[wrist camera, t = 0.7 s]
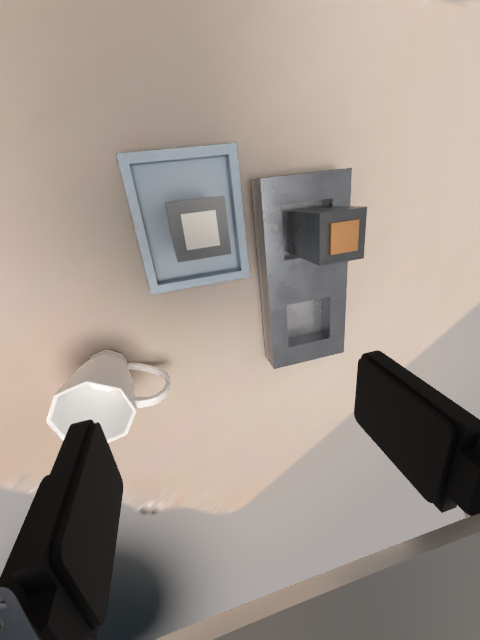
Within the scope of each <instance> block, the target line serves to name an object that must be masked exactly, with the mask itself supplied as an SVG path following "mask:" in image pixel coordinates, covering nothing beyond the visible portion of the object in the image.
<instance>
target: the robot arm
mask: <svg viewBox="0 0 480 640" xmlns="http://www.w3.org/2000/svg"><path fill="white" fill-rule="evenodd" d="M354 415H355V419H356V421H357V422H358V423H359V425H360V426H361V427H362V428H363V429H364V430H365V432H366V433H367V434H368V435H369V436H370V437H371V438H372V440H373V441H374V442H375V443H376V444H377V445H378V446H379V447H380V448H381V450H382V451H383V452H384V453H385V454H386V455H387V457H388V458H389V459H390V460H391V461H392V462H393V463H394V464H395V466H396V467H397V468H398V469H399V470H400V471H401V472H402V474H403V475H404V476H405V477H406V478H407V479H408V480H409V481H410V483H411V484H412V485H413V486H414V487H415V488H416V489H417V490H418V492H419V493H420V494H421V495H422V496H423V497H424V498H425V499H426V500H427V501H428V502H430V503H433V504H434V505H435V506H436V507H437V508H438V509H439V510H440V511H441V512H445V511H448V510H450V509H453V508H455V507H456V506H457V505H458V506H459V507H460V508H461V509H462V510H463V511H464V514H465V519H463V520H460V521H457V522H455V523H452V524H450V525H447V526H444V527H442V528H439V529H437V530H434V531H431V532H429V533H426V534H423V535H421V536H418V537H416V538H413V539H410V540H408V541H405V542H402V543H400V544H397V545H394V546H392V547H389V548H387V549H384V550H381V551H379V552H376V553H374V554H372V555H369V556H366V557H363V558H361V559H358V560H356V561H353V562H351V563H348V564H345V565H343V566H340V567H338V568H335V569H332V570H330V571H327V572H325V573H322V574H320V575H317V576H315V577H312V578H309V579H307V580H304V581H302V582H299V583H296V584H294V585H291V586H289V587H286V588H284V589H281V590H279V591H276V592H274V593H271V594H268V595H266V596H263V597H261V598H258V599H256V600H253V601H251V602H248V603H246V604H243V605H241V606H238V607H236V608H233V609H230V610H228V611H225V612H223V613H220V614H218V615H215V616H213V617H210V618H208V619H205V620H203V621H200V622H198V623H195V624H193V625H190V626H188V627H185V628H182V629H180V630H178V631H175V632H173V633H171V634H168V635H166V636H163V637H161V638H159V639H156V640H480V420H479V419H478V418H476V417H475V416H473V415H472V414H471V413H469V412H468V411H466V410H465V409H463V408H462V407H460V406H459V405H458V404H456V403H455V402H453V401H452V400H450V399H449V398H447V397H446V396H444V395H443V394H442V393H440V392H439V391H437V390H436V389H434V388H433V387H431V386H430V385H428V384H427V383H426V382H424V381H423V380H421V379H420V378H418V377H417V376H416V375H414V374H413V373H411V372H410V371H408V370H407V369H405V368H404V367H402V366H401V365H400V364H398V363H397V362H395V361H394V360H392V359H391V358H389V357H388V356H387V355H385V354H384V353H382V352H380V351H373V352H369V353H365V354H363V355H362V357H361V359H359V361H358V372H357V384H356V397H355V410H354ZM122 494H123V482H122V478H121V475H120V473H119V470H118V468H117V465H116V463H115V460H114V457H113V455H112V452H111V450H110V447H109V445H108V442H107V440H106V437H105V435H104V432H103V430H102V427H101V425H100V423H99V422H97V423H94V422H93V420H91V419H90V420H86V421H81V422H77V423H73V424H71V425H70V427H69V429H68V431H67V434H66V436H65V439H64V441H63V444H62V446H61V449H60V451H59V454H58V456H57V458H56V461H55V463H54V466H53V468H52V471H51V473H50V475H47V476H46V477H44V478H43V480H42V482H41V483H40V485H39V488H38V490H37V492H36V495H35V497H34V500H33V502H32V504H31V507H30V509H29V511H28V514H27V516H26V518H25V521H24V523H23V525H22V528H21V530H20V533H19V535H18V537H17V540H16V542H15V544H14V546H13V549H12V551H11V553H10V556H9V558H8V561H7V563H6V565H5V568H4V570H3V572H2V575H1V577H0V640H97V633H98V626H99V625H102V624H104V622H105V619H106V615H107V608H108V600H109V593H110V585H111V578H112V570H113V563H114V555H115V548H116V539H117V532H118V525H119V517H120V510H121V502H122Z"/></svg>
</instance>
